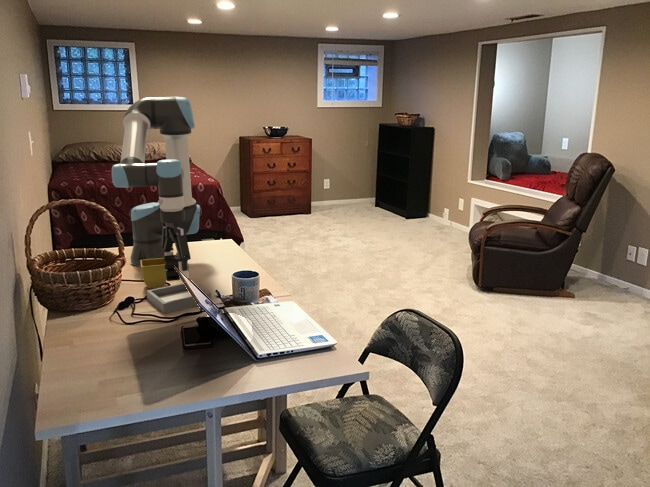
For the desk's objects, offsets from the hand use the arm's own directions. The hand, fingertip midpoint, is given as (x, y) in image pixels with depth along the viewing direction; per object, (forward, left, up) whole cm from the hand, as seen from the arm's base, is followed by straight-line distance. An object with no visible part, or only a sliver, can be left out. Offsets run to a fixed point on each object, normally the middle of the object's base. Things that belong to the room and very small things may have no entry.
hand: (177, 275), depth 185 cm
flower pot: (-19, -1, -9) cm, 21 cm away
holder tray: (0, 0, -9) cm, 9 cm away
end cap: (0, 0, 0) cm, 0 cm away
